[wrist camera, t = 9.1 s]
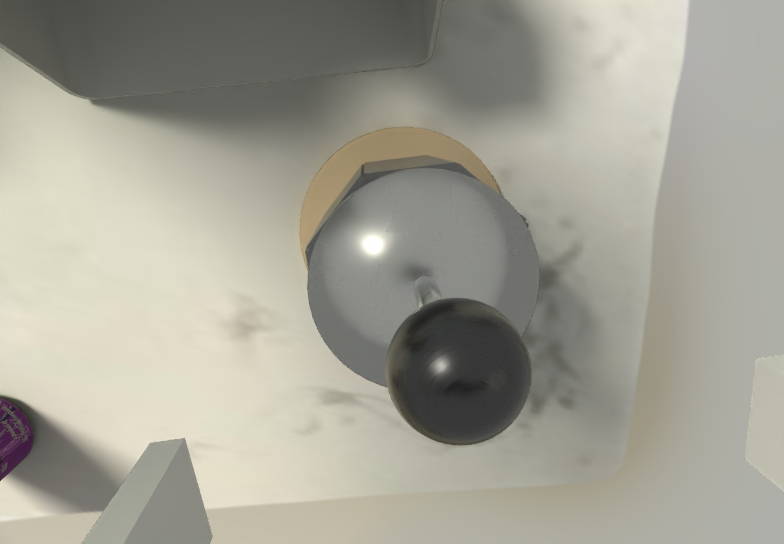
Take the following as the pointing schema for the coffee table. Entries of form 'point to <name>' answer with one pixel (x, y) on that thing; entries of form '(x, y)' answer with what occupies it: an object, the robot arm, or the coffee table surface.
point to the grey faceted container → (380, 171)
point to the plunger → (430, 299)
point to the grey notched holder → (211, 41)
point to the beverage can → (13, 437)
